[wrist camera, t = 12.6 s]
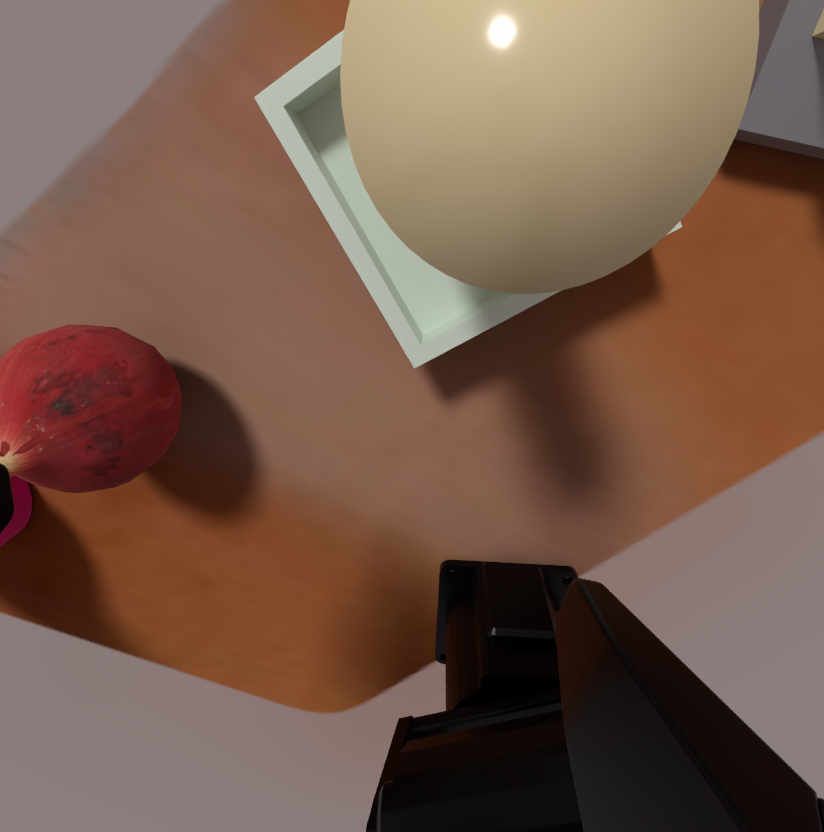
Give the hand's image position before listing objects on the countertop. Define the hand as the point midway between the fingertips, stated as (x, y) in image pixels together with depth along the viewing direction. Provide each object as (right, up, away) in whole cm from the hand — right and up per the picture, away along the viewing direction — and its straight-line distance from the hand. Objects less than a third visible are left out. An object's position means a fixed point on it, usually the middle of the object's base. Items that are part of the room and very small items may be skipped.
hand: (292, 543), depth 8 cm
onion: (-9, +4, +13) cm, 17 cm away
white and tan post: (+4, +10, +8) cm, 13 cm away
